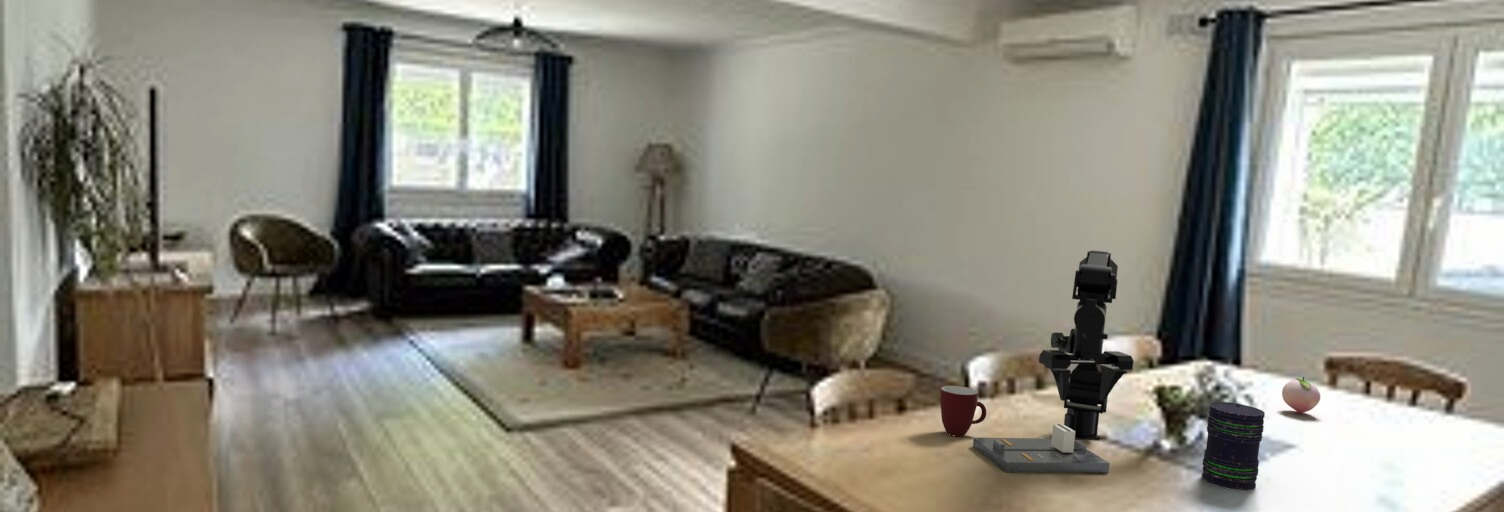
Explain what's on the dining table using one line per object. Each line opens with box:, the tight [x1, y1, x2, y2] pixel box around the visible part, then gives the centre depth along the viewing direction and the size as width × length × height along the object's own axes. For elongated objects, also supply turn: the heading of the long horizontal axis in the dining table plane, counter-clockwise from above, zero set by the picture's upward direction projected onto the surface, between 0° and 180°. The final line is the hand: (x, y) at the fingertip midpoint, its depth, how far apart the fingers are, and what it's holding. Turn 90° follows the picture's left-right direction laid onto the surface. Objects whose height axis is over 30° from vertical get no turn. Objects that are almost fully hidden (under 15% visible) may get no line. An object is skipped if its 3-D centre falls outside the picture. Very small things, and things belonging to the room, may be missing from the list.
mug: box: [939, 385, 987, 437], centre depth 203 cm, size 11×8×10 cm
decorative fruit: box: [1281, 376, 1321, 414], centre depth 243 cm, size 9×8×10 cm
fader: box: [1051, 423, 1076, 452], centre depth 189 cm, size 2×5×5 cm, turn 10°
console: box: [972, 437, 1110, 474], centre depth 189 cm, size 22×16×4 cm
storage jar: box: [1201, 401, 1266, 492], centre depth 181 cm, size 10×10×15 cm
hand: (1082, 400), depth 191 cm, fingers open, 9 cm apart
